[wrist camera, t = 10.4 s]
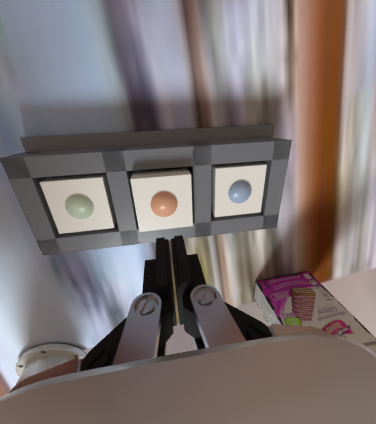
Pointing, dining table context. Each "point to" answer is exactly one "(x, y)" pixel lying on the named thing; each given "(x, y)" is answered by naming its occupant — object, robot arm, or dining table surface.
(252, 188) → the key slate
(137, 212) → the key terracotta
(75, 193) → the key sage
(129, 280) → the dining table surface
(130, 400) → the robot arm
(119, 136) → the grey button panel
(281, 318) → the candy bar box
